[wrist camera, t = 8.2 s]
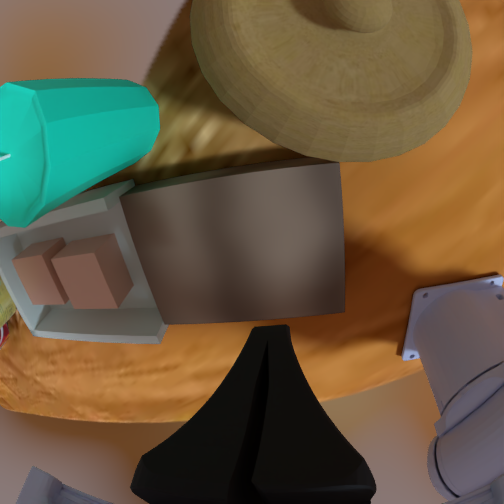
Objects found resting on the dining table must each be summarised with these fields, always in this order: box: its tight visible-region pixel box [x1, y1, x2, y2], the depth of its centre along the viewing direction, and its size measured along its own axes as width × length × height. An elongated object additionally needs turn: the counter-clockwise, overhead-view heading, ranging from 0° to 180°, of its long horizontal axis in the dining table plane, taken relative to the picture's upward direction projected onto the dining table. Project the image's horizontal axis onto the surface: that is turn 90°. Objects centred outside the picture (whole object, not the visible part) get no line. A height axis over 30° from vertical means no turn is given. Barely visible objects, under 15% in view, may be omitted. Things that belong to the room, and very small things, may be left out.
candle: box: [0, 78, 160, 228], centre depth 12 cm, size 6×6×12 cm
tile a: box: [51, 233, 134, 309], centre depth 21 cm, size 4×4×3 cm
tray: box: [0, 179, 169, 344], centre depth 21 cm, size 15×11×4 cm
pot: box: [190, 0, 472, 162], centre depth 10 cm, size 12×12×10 cm
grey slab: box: [119, 157, 345, 325], centre depth 20 cm, size 13×10×2 cm
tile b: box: [11, 237, 69, 305], centre depth 21 cm, size 4×4×3 cm
